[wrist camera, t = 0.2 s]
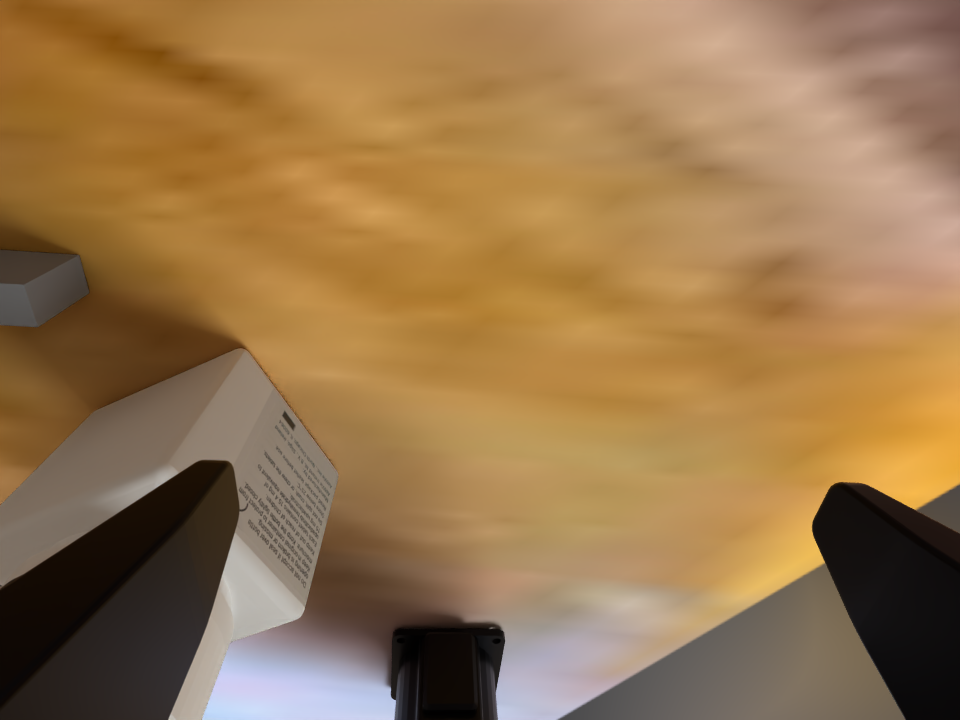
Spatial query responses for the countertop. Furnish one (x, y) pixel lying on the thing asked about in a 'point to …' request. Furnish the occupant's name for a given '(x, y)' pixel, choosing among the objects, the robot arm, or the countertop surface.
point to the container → (163, 454)
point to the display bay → (38, 286)
